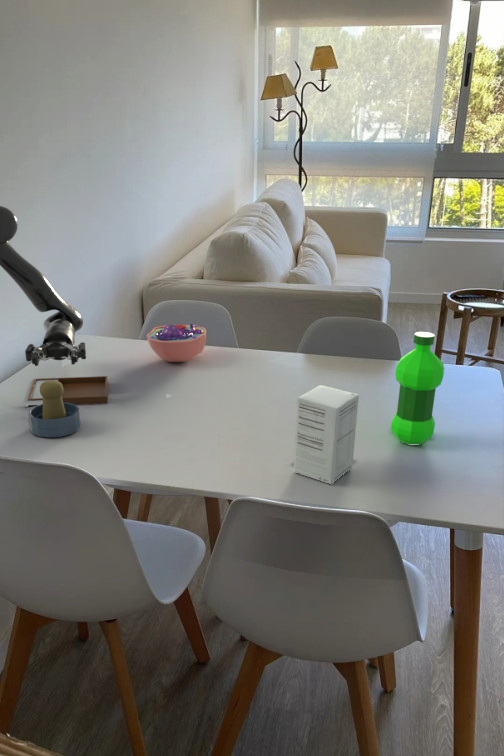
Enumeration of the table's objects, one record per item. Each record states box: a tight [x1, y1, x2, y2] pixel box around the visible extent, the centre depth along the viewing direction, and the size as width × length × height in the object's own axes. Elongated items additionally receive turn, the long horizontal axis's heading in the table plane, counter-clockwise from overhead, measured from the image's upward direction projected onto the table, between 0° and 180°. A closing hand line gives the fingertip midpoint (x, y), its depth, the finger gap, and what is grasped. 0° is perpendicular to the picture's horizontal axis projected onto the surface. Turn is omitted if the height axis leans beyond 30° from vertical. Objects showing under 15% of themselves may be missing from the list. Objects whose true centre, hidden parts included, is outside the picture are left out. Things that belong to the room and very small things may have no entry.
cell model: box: [146, 323, 207, 363], centre depth 208 cm, size 17×20×11 cm
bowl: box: [27, 402, 82, 438], centre depth 162 cm, size 11×11×4 cm
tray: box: [27, 375, 109, 408], centre depth 183 cm, size 19×15×2 cm
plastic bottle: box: [390, 331, 445, 445], centre depth 156 cm, size 10×10×25 cm
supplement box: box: [293, 384, 360, 485], centre depth 143 cm, size 10×9×17 cm
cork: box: [39, 380, 67, 420], centre depth 161 cm, size 6×6×11 cm
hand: (54, 361), depth 167 cm, fingers open, 8 cm apart
